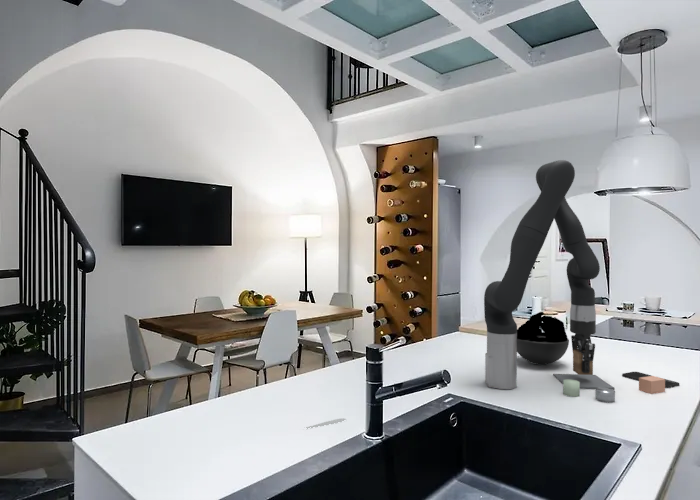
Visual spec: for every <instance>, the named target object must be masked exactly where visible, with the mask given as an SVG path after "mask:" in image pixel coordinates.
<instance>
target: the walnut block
mask: <svg viewBox="0 0 700 500" xmlns="http://www.w3.org/2000/svg"><path fill="white" fill-rule="evenodd" d="M583 351H585V350H583ZM590 355H591V354H590ZM587 357H588V355H587ZM572 371H573V372H574V373H575V374H580V375H594V360H593V361H590V372H589V373H583V372H582V357H581V353H579V350H572Z"/></svg>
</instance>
